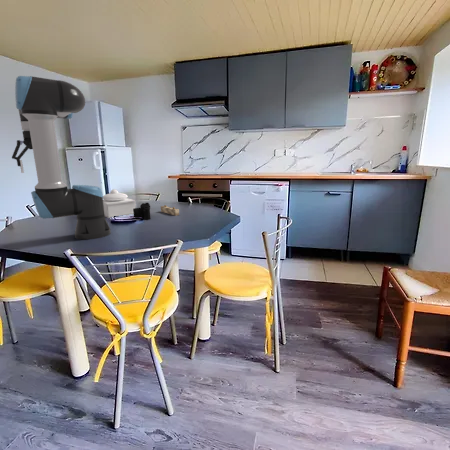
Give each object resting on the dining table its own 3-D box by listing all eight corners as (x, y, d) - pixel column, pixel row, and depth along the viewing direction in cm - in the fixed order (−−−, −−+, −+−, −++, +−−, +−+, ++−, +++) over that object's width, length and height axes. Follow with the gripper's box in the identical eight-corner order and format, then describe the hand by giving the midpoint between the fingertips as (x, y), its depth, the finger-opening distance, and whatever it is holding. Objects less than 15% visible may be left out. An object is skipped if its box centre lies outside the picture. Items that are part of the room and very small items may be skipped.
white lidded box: (126, 210, 192) (123, 186, 188) (136, 214, 178) (134, 189, 174) (99, 213, 181) (96, 189, 177) (108, 218, 167) (105, 191, 163)
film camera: (134, 216, 172) (132, 201, 170) (150, 214, 175) (149, 200, 173) (133, 221, 158) (132, 205, 156) (151, 220, 161) (150, 204, 158)
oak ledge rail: (179, 215, 173) (178, 207, 171) (175, 215, 171) (175, 208, 170) (164, 211, 186) (163, 204, 185) (161, 211, 184) (160, 204, 183)
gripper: (56, 132, 158) (62, 171, 163) (0, 130, 141) (8, 173, 146) (59, 131, 152) (65, 171, 157) (1, 129, 136) (10, 173, 141)
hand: (38, 172), depth 152 cm, fingers open, 13 cm apart
